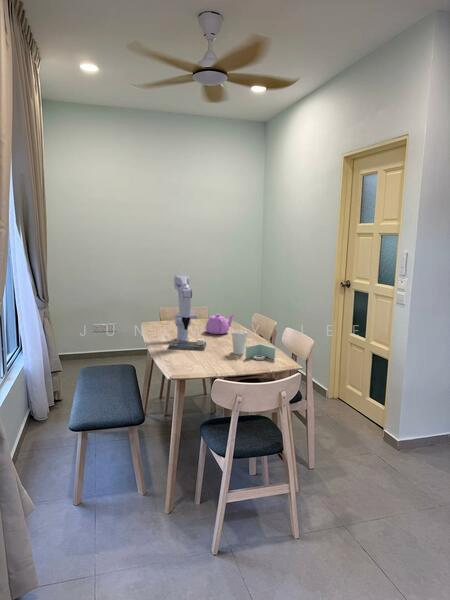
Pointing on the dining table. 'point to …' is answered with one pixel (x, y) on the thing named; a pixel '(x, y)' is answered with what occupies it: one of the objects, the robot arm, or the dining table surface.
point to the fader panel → (186, 345)
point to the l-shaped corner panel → (260, 352)
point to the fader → (200, 341)
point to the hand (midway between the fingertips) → (185, 329)
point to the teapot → (218, 324)
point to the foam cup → (239, 341)
